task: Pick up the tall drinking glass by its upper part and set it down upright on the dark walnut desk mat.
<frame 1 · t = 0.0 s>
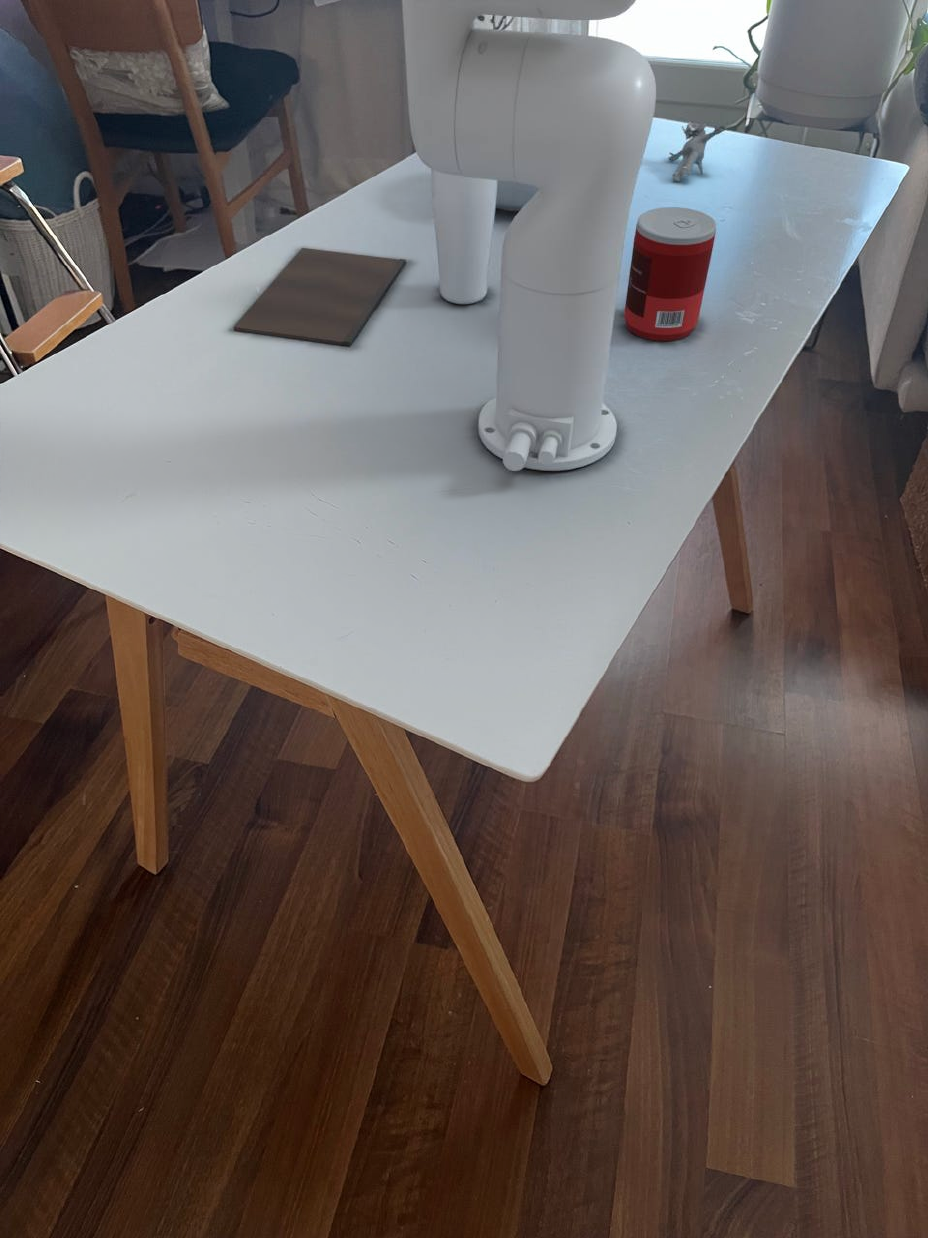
drinking glass: (463, 296, 105), on the table
desk mat: (324, 294, 104), on the table
canned food: (659, 326, 100), on the table
grey creature figurine: (692, 174, 131), on the table
cereal bowl: (515, 201, 124), on the table
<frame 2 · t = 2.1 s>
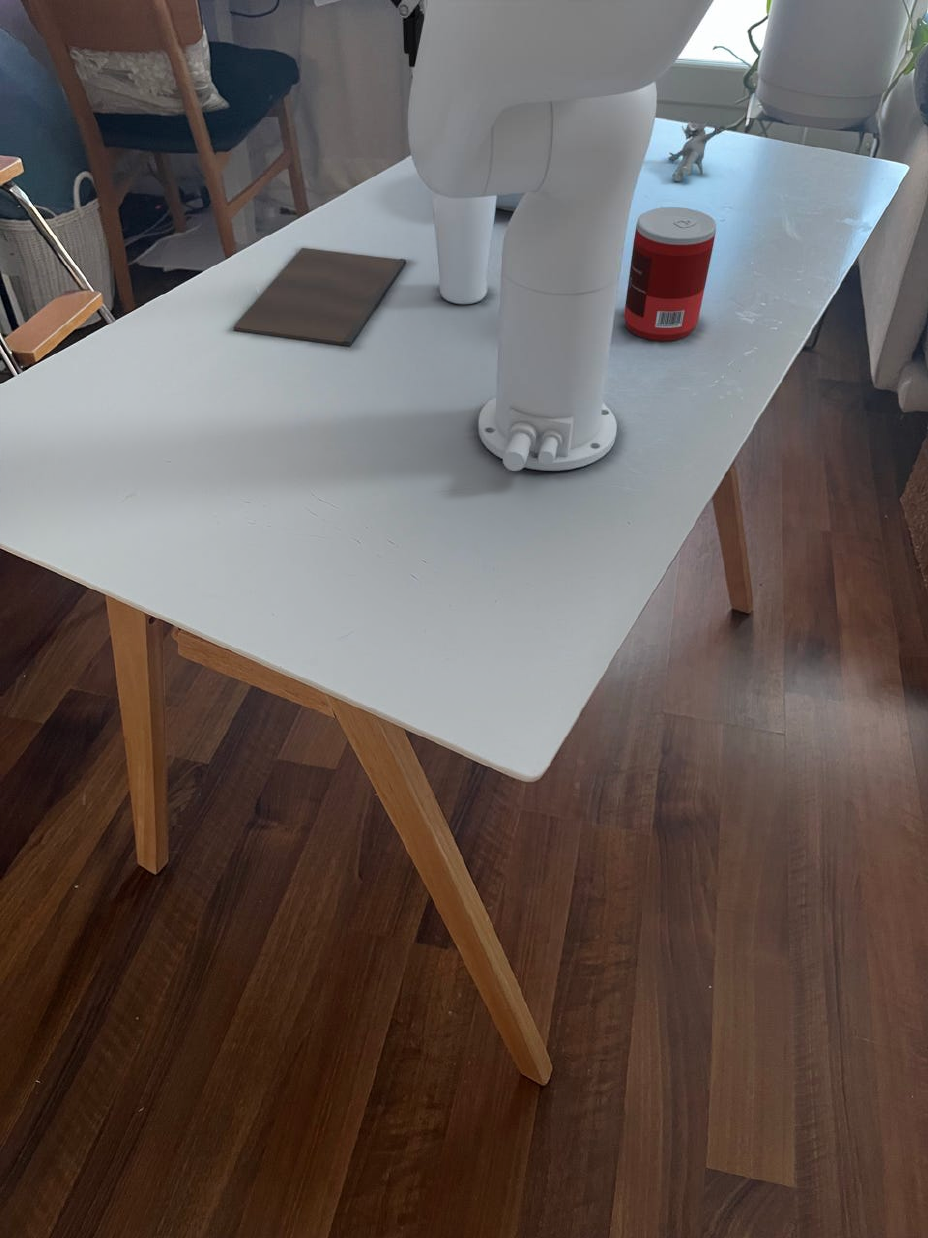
hand: (465, 67, 89), 23 cm above the table, tool pointing down, fingers open, 9 cm apart
nothing on the table moved.
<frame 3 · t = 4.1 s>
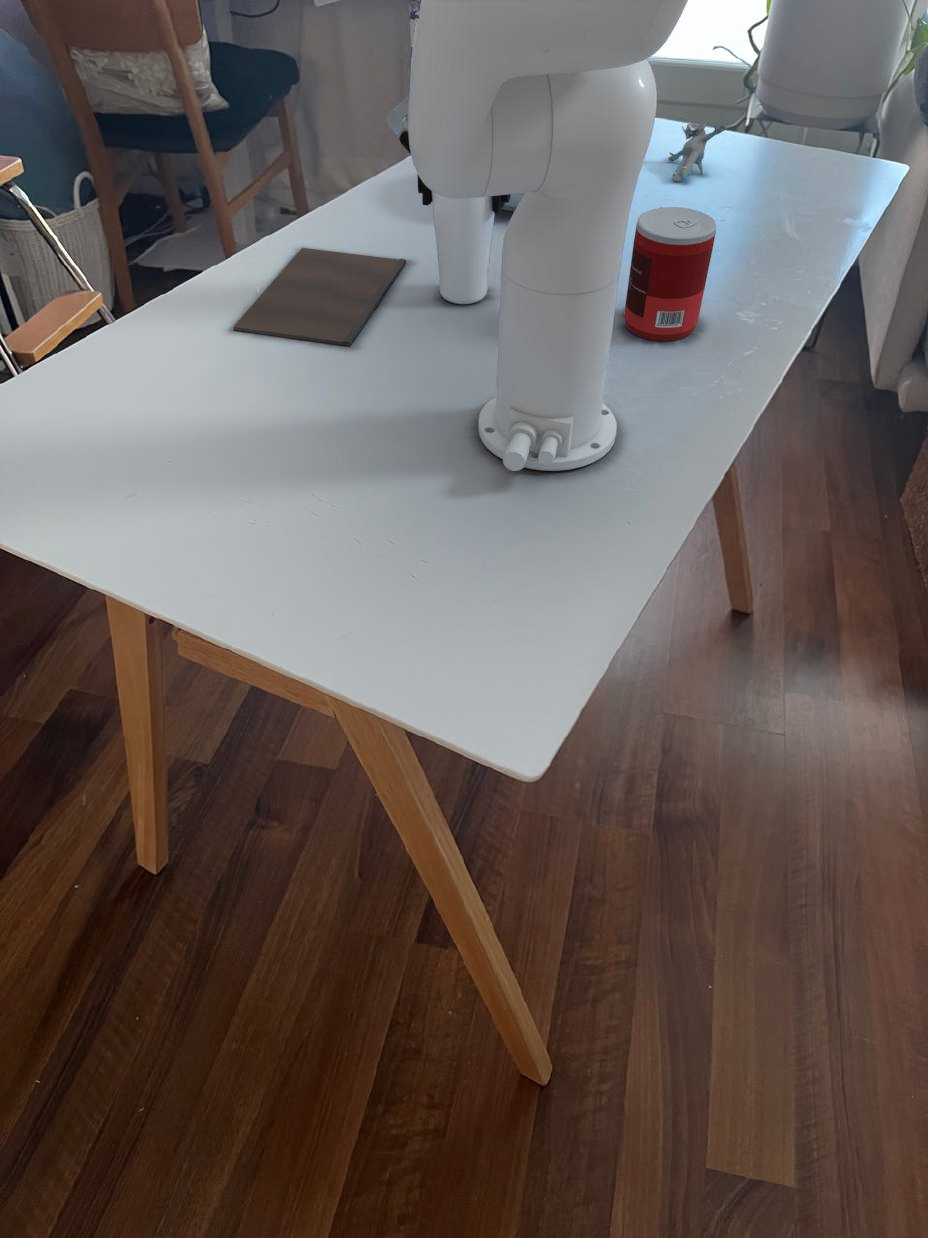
hand: (464, 202, 97), 10 cm above the table, tool pointing down, fingers closed on drinking glass, 6 cm apart
drinking glass: (463, 296, 105), on the table, touching gripper
everything else where it was.
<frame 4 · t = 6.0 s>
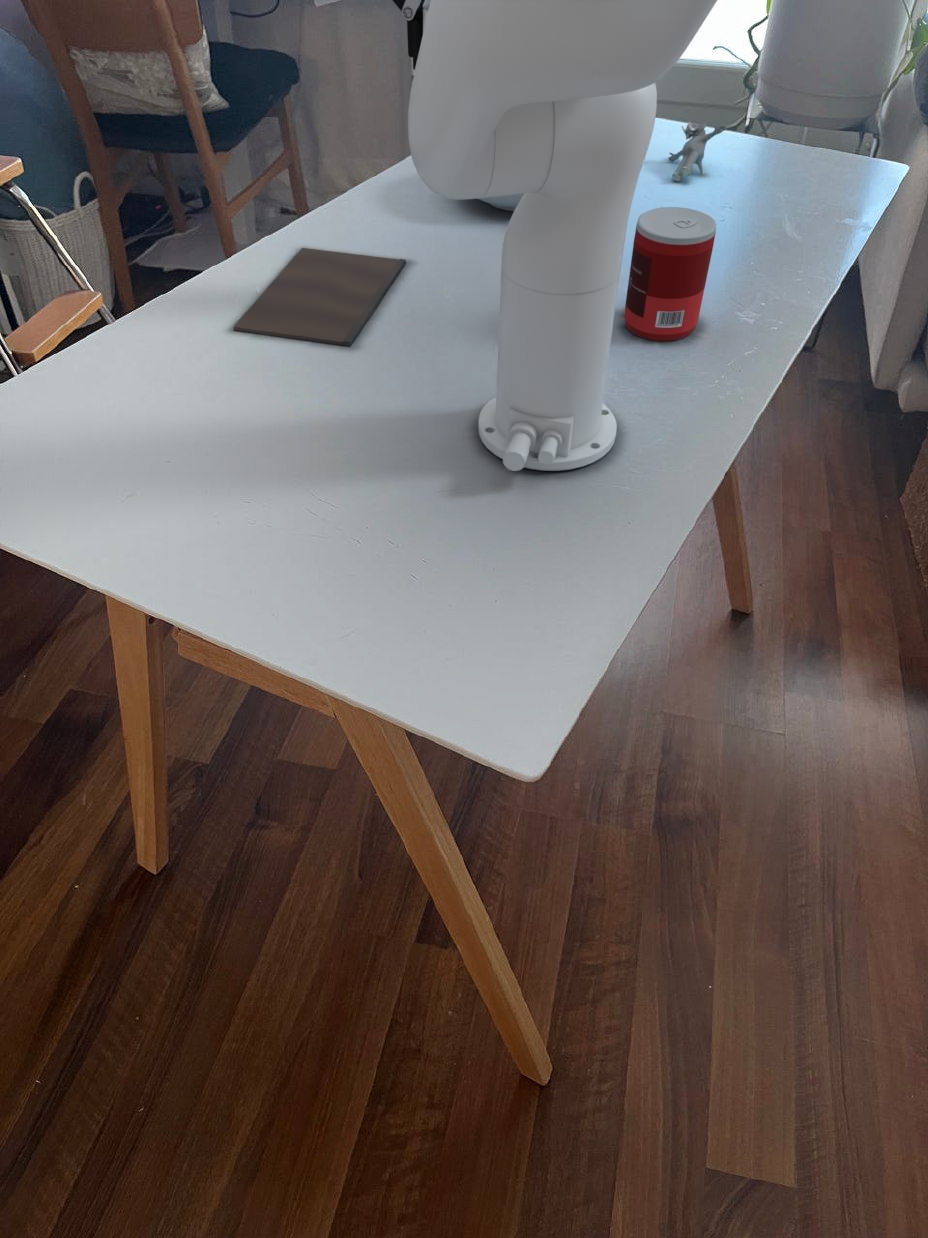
hand: (459, 67, 88), 23 cm above the table, tool pointing down, fingers closed on drinking glass, 6 cm apart
drinking glass: (459, 181, 95), point 12 cm above the table, touching gripper
everything else where it was.
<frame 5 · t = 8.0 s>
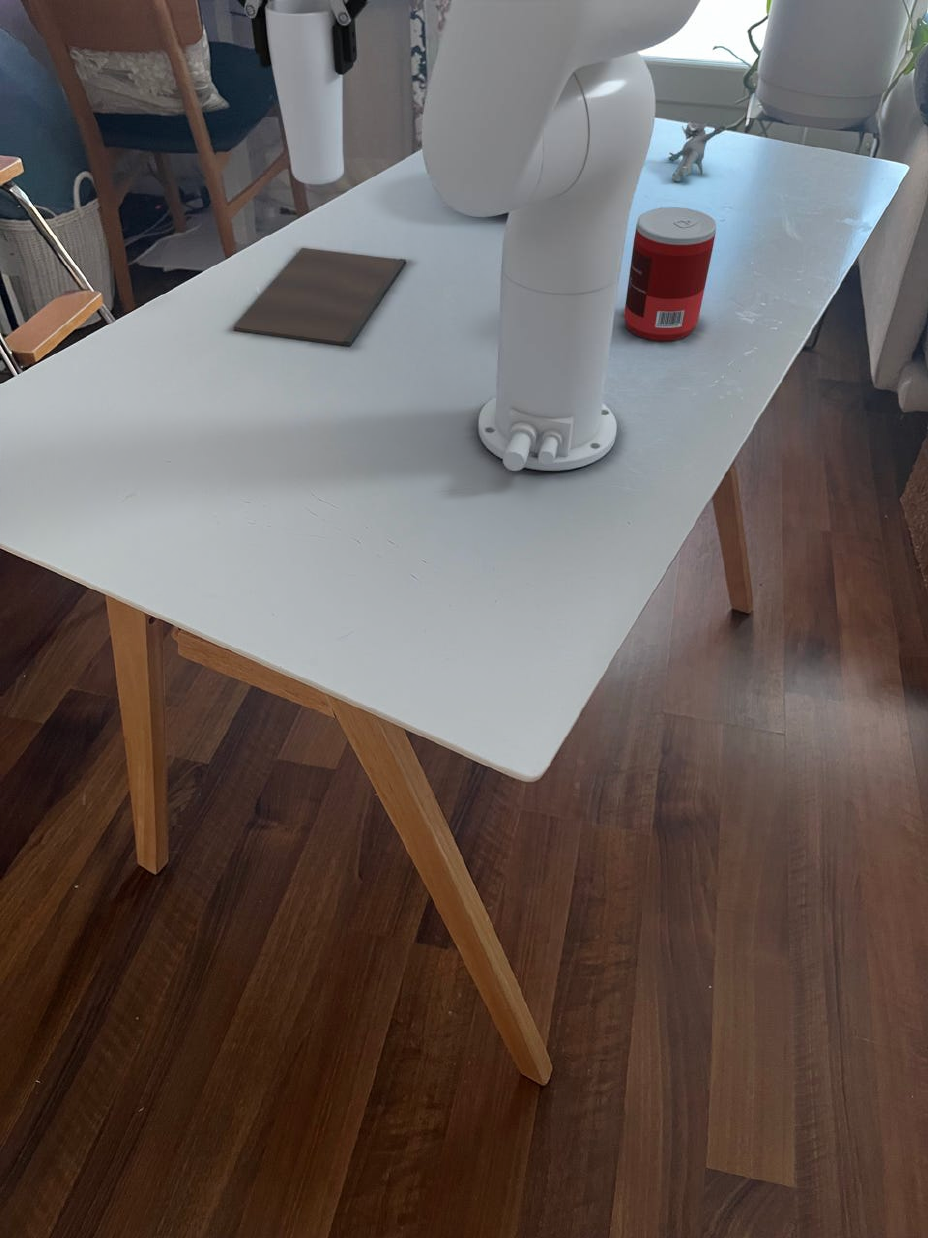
hand: (307, 65, 88), 23 cm above the table, tool pointing down, fingers closed on drinking glass, 6 cm apart
drinking glass: (318, 178, 95), point 13 cm above the table, touching gripper
everything else where it was.
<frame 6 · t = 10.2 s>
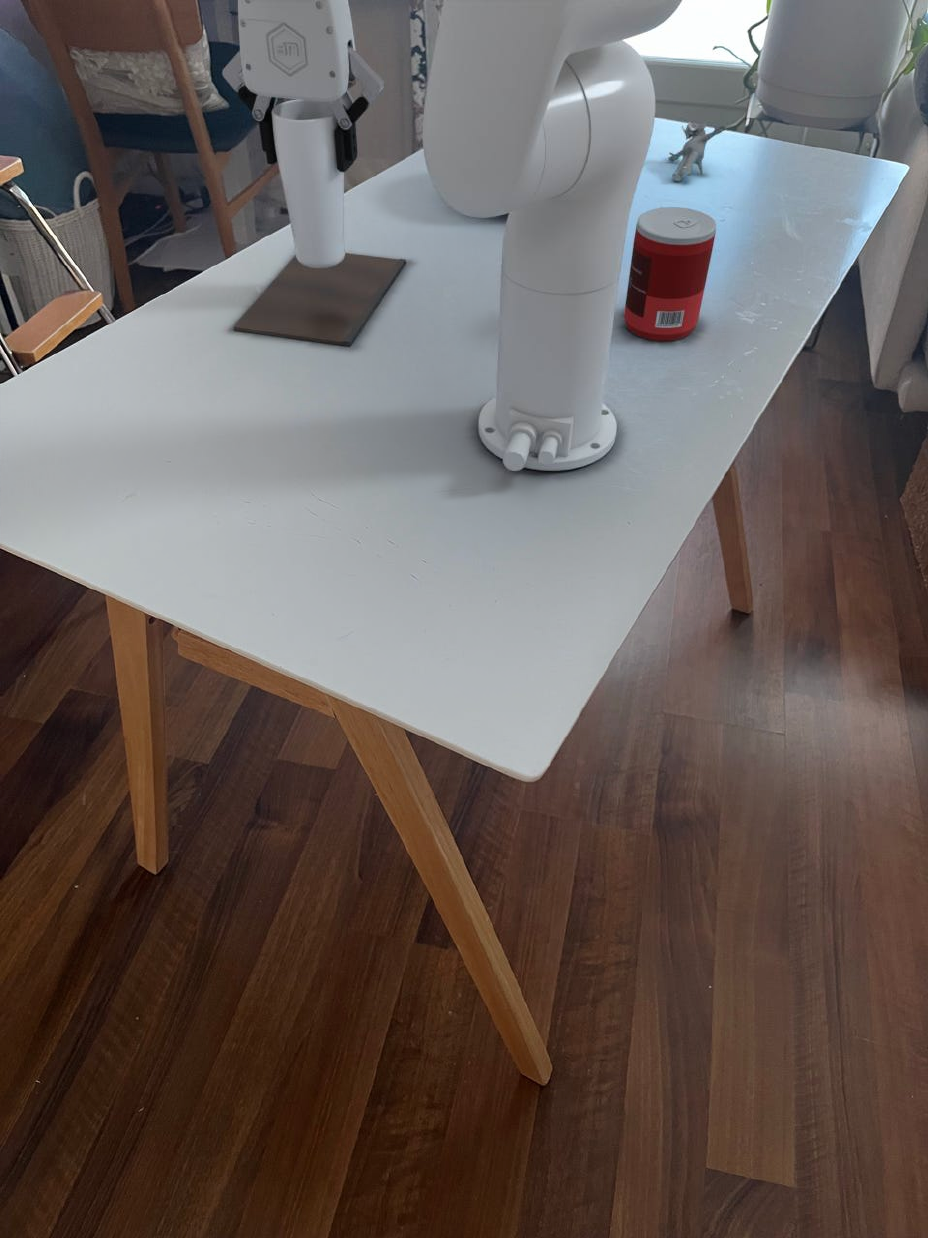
hand: (310, 161, 94), 14 cm above the table, tool pointing down, fingers closed on drinking glass, 6 cm apart
drinking glass: (321, 261, 102), point 4 cm above the table, touching gripper
everything else where it was.
when the fingers open (11 cm above the table, at t = 11.8 s): drinking glass stays where it is, resting on desk mat.
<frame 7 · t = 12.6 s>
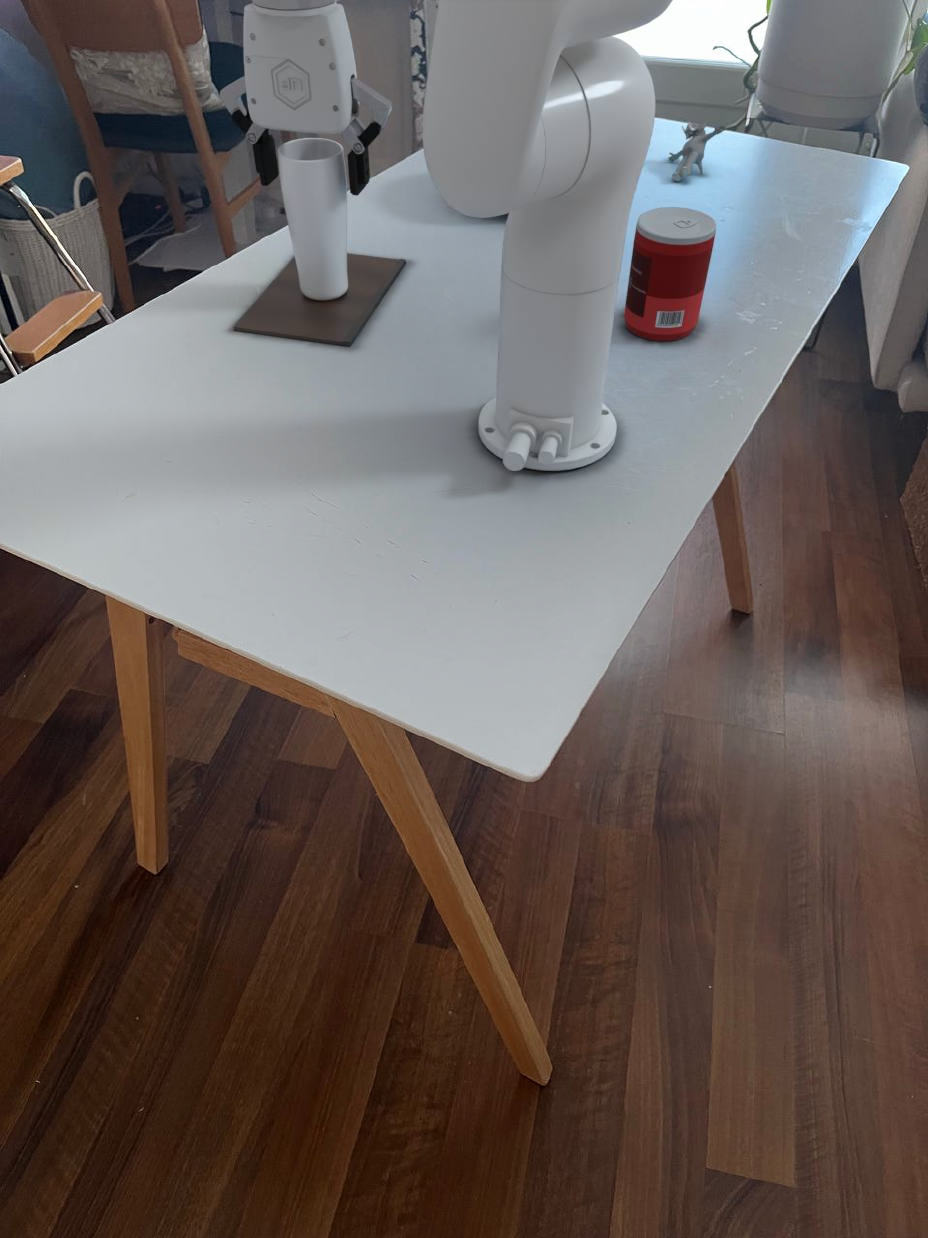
hand: (314, 185, 96), 12 cm above the table, tool pointing down, fingers open, 9 cm apart
drinking glass: (324, 293, 104), resting on desk mat
everything else where it was.
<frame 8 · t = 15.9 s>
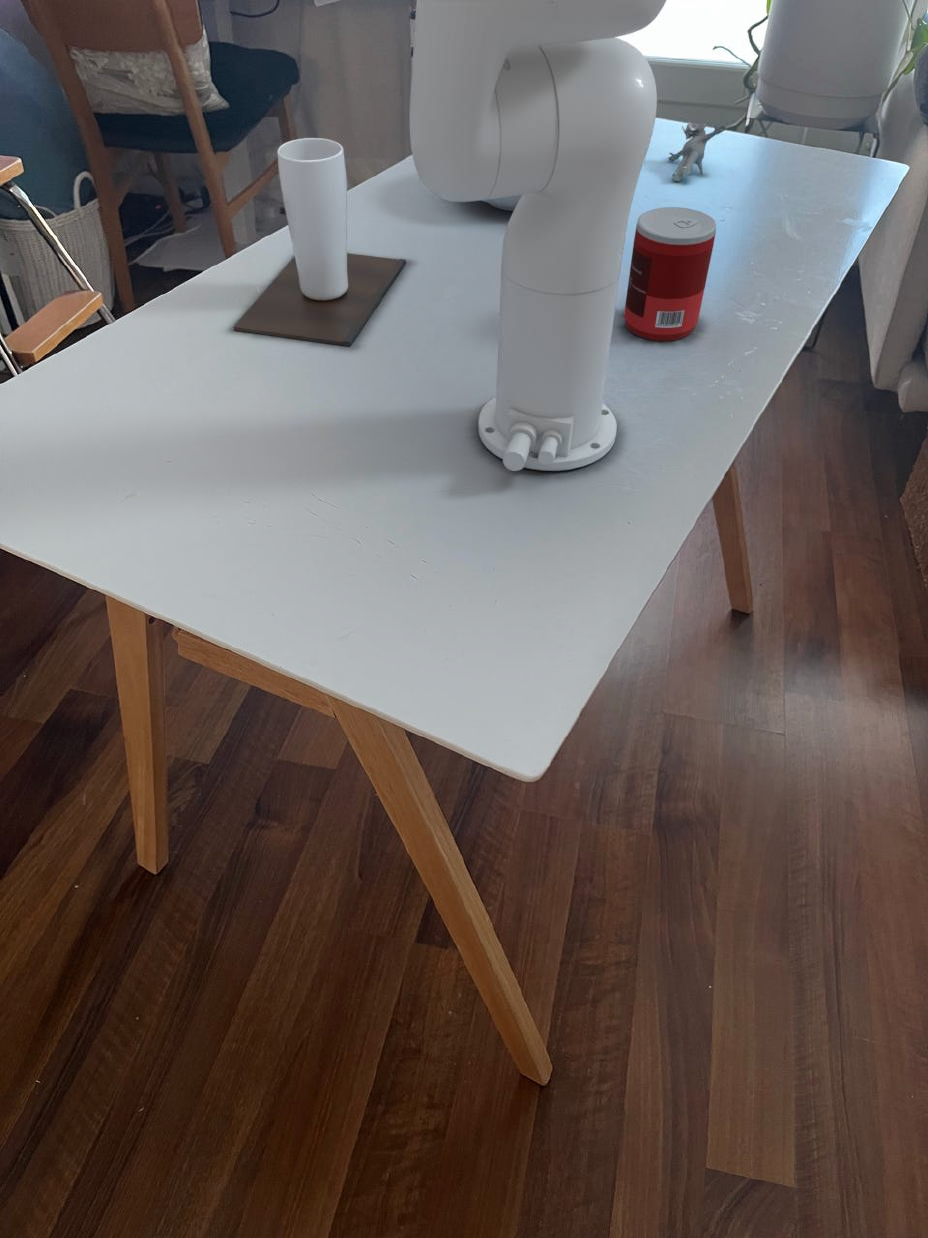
nothing on the table moved.
at the end: drinking glass inside the target area on the desk mat (0.1 cm from its centre), point 0.2 cm above the desk mat's base; drinking glass tilted 0°; the gripper is holding nothing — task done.
